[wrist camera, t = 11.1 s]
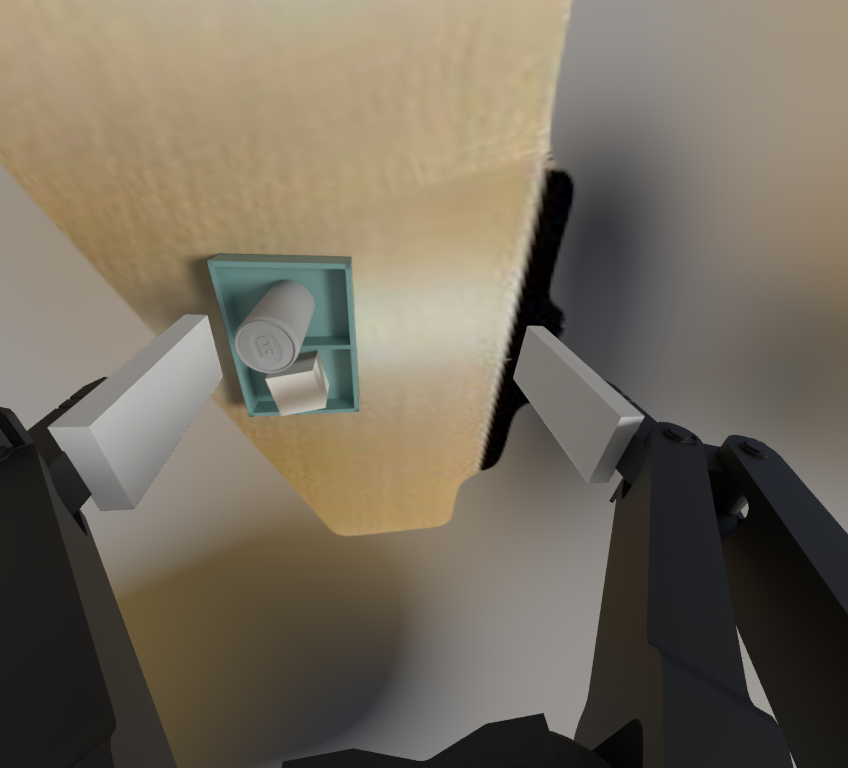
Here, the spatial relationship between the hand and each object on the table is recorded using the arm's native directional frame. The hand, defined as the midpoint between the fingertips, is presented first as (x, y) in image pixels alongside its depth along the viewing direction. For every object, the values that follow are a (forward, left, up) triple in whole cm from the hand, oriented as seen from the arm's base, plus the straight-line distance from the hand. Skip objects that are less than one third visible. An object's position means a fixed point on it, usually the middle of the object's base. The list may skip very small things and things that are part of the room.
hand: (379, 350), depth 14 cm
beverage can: (+6, -9, -25) cm, 27 cm away
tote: (+10, -9, -26) cm, 29 cm away
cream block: (+15, -9, -25) cm, 30 cm away
